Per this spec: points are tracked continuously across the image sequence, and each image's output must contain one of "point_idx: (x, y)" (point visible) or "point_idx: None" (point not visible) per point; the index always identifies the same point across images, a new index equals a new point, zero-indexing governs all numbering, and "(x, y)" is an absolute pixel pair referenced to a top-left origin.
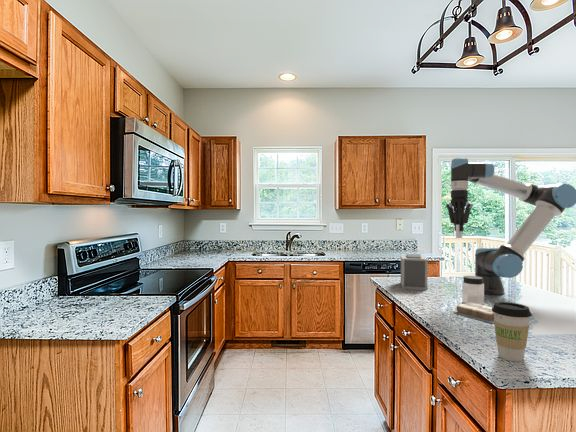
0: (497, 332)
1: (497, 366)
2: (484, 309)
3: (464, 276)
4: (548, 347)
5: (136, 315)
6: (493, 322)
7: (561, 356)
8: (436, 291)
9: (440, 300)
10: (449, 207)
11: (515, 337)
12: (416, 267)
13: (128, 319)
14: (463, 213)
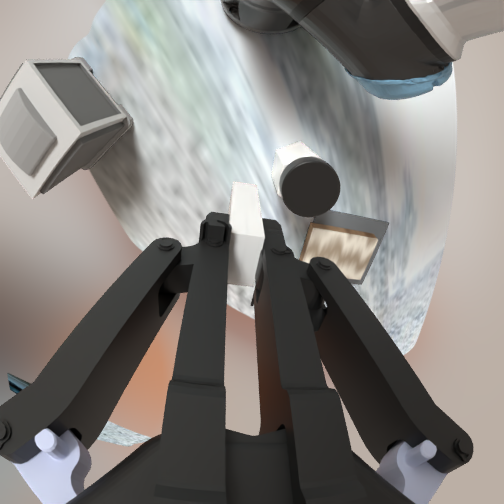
0: None
1: None
2: (348, 262)
3: (286, 199)
4: (413, 311)
5: (113, 426)
6: (362, 280)
7: (418, 322)
8: (159, 112)
9: (226, 203)
10: (86, 446)
11: None
12: (77, 159)
13: (121, 429)
14: (312, 359)
